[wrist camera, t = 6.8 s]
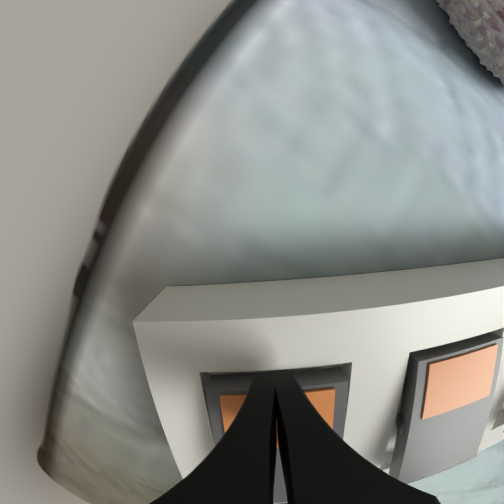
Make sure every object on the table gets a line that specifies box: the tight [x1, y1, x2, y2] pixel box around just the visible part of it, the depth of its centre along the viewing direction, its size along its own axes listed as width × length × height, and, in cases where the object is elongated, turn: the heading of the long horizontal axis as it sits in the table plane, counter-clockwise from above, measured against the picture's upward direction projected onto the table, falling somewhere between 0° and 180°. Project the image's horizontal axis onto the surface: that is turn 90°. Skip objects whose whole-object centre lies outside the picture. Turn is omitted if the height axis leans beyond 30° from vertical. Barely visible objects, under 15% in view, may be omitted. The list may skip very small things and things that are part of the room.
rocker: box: [205, 367, 348, 503], centre depth 10 cm, size 7×5×2 cm
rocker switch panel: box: [132, 258, 504, 504], centre depth 13 cm, size 12×26×4 cm, turn 94°
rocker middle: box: [389, 332, 504, 484], centre depth 10 cm, size 7×5×2 cm
